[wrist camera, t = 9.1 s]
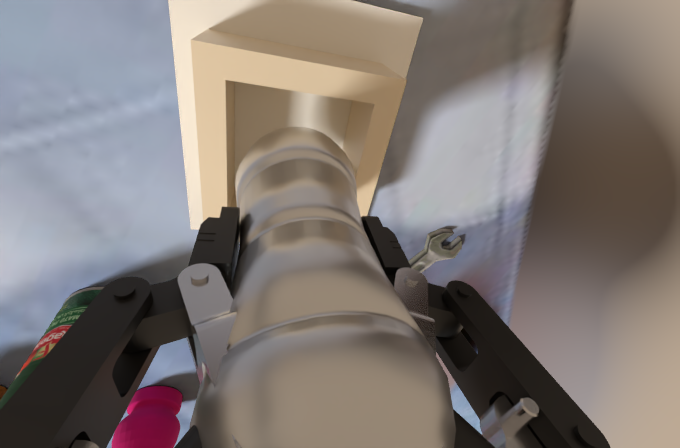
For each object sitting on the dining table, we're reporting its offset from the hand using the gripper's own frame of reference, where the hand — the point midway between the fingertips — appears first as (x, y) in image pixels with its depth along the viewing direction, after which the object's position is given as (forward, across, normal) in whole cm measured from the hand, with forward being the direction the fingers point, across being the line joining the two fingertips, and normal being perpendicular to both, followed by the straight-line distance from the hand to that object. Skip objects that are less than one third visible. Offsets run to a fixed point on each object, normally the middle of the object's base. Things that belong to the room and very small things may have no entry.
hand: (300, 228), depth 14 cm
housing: (+12, 0, 0) cm, 12 cm away
